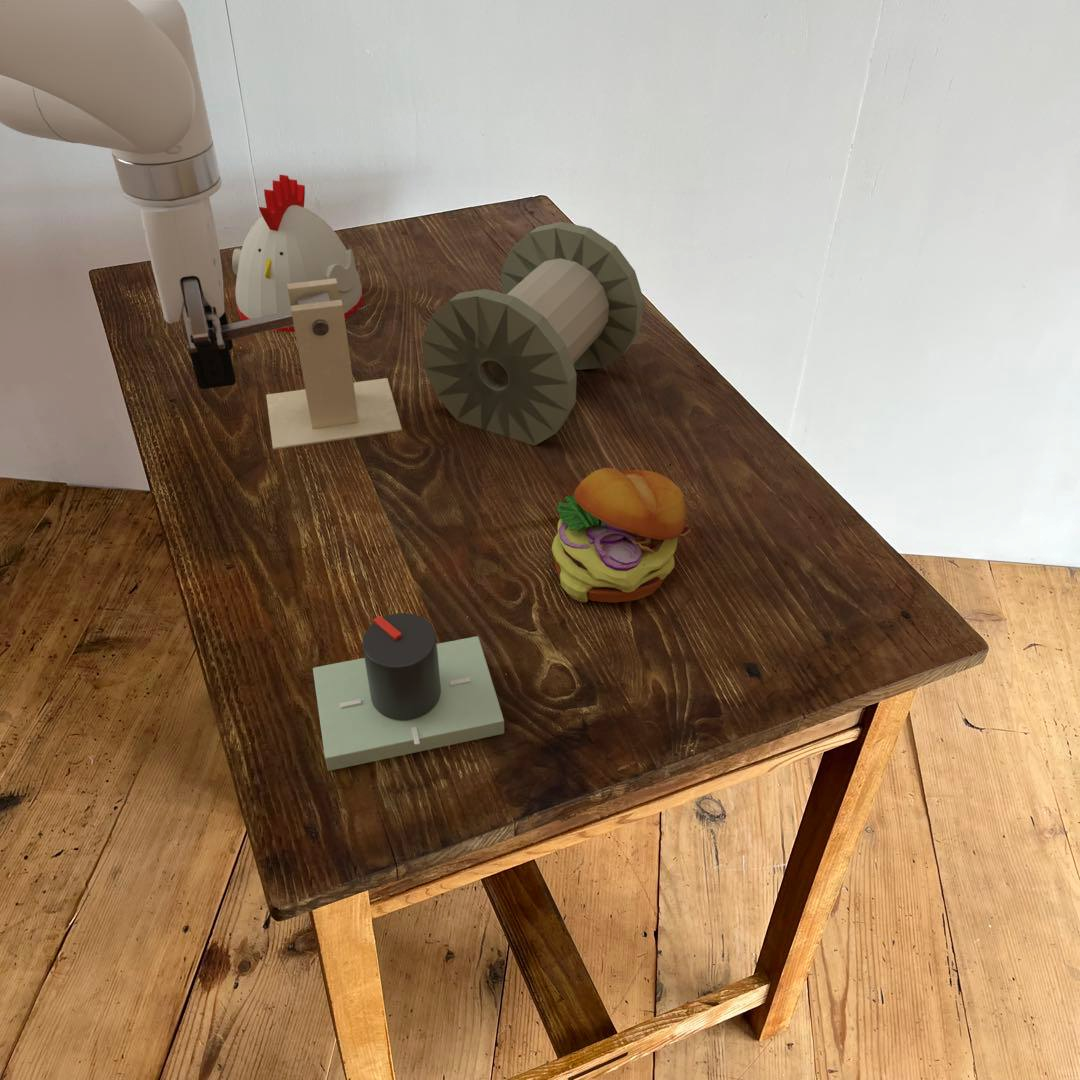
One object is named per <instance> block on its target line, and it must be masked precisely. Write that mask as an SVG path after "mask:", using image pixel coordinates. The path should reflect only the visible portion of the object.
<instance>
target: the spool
mask: <svg viewBox="0 0 1080 1080" xmlns="http://www.w3.org/2000/svg"><path fill="white" fill-rule="evenodd" d="M641 289H642V288H641V286H640V283H639V280H638V277H637V273H636V270H635V269H634V267H633V266H632V265H631V263H630V262H629V261H628V259H627V258H626V257H625V255H624V254H623V253H622V251H621V250H620V249H619V248H618V246H617V245H616V244H615V243H613V242H612V241H610V240H609V239H607V238H605V237H604V236H603V235H602V234H600V233H599V232H597V231H595V230H594V229H592V228H591V227H587V226H583V225H578V224H575V223H570V222H565V221H559V222H554V223H549V224H544V225H540V226H536V227H535V228H534V229H532V230H531V231H530V232H528V234H526V235H525V236H524V237H523V238H522V239H520V240H519V241H518V242H517V243H516V244H514V245H513V246H512V247H511V248H510V250H509V252H508V255H507V257H506V259H505V262H504V264H503V267H502V269H501V292H499V291H495V290H491V289H487V288H482V289H475V290H469V291H463V292H459V293H457V294H456V295H455V296H453V297H452V298H451V299H449V300H448V301H447V302H446V303H445V304H444V305H442V306H441V307H440V308H439V309H438V310H436V311H435V312H434V313H433V314H431V315H430V316H429V320H428V323H427V325H426V327H425V330H424V333H423V336H422V339H421V346H422V357H423V368H424V371H425V373H426V375H427V378H428V380H429V382H430V384H431V387H432V389H433V391H434V394H435V396H436V397H437V399H438V400H439V401H440V402H441V403H442V405H443V406H444V407H445V408H446V409H447V411H448V412H449V413H450V414H451V416H452V417H453V418H454V419H455V421H457V422H459V423H461V424H465V425H469V426H471V427H475V428H477V429H481V430H484V431H487V432H489V433H493V434H497V435H500V436H503V437H505V438H509V439H512V440H514V441H519V442H521V443H524V444H528V445H530V446H537V445H539V444H540V443H542V442H543V441H545V440H547V439H549V438H551V437H553V436H554V435H556V434H557V433H558V432H559V431H560V430H561V428H562V427H563V426H564V425H565V424H566V421H567V419H568V417H569V416H570V414H571V412H572V410H573V409H574V406H575V405H576V403H577V402H576V401H577V372H576V370H577V371H583V370H592V369H602V368H605V367H606V366H608V365H609V364H611V363H612V362H614V361H617V359H619V358H621V357H623V355H625V354H626V353H627V351H628V350H629V349H630V347H631V345H632V344H633V342H634V340H635V339H636V338H637V335H638V334H639V332H640V330H641V328H642V325H643V315H644V314H643V313H644V302H645V299H644V295H643V293H642V290H641Z"/></svg>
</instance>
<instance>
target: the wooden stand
mask: <svg viewBox="0 0 1080 1080" xmlns="http://www.w3.org/2000/svg"><path fill="white" fill-rule="evenodd" d="M287 289H288V294H289V300H290V306H291V312H292V317H293V323H294V329H295V331H294V335H295V339H296V345H297V351H298V357H299V363H300V368H301V373H302V374H301V375H302V379H303V380H302V381H303V385H304V388H303V389H297V390H289V391H283V392H275V393H267V394H266V395H265V396H266V397H265V398H266V404H267V413H268V420H269V421H268V422H269V429H270V439H271V446H272V450H273V451H274V450H275V451H276V450H282V449H289V448H295V447H303V446H310V445H315V444H323V443H328V442H336V441H343V440H349V439H357V438H363V437H370V436H376V435H382V434H389V433H390V434H391V433H397V432H402V431H403V428H402V427H403V426H402V424H401V421H400V417H399V413H398V411H397V407H396V403H395V399H394V396H393V392H392V389H391V385H390V382H389V378H388V377H385V378H384V377H383V378H378V379H370V380H369V379H368V380H362V381H355V382H354V376H353V369H352V361H351V354H350V348H349V340H348V332H347V325H346V318H345V317H344V310H343V304H342V300H340V298H339V291H338V284H337V280H336V278H333V279H325V280H316V281H308V282H299V283H291V284H287ZM323 292H328V293H329V296H330V300H331V301H325V302H317V303H309V304H301V305H298V300H297V298H300V297H305V296H309V295H314V294H318V293H323Z"/></svg>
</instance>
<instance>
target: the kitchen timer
mask: <svg viewBox="0 0 1080 1080" xmlns="http://www.w3.org/2000/svg"><path fill="white" fill-rule="evenodd" d="M278 178H279V179H278V180H274V179H273V180H272V189H267V188H264V189H263V193H264V202H265V206H266V207H264V206H263V207H262V206H259V207H258V210H259V212H260V217H259V218H258V219H257V220H256V221H255V223H253V225H252V226H251V228H250V229H249V231H248V233H247V235H246V237H245V239H244V241H243V244H242V246H241V249H240V248H235V249H234V250H233V252H232V257H231V258H232V259H231V261H232V262H231V264H232V271H233V274H234V275H235V276H236V281H235V304H236V308H237V313H238V317H239V319H240V321H244V320H249V319H253V318H258V317H262V316H267V315H271V314H276V313H280V312H285V311H289V310H291V306H290V300H289V294H288V289H287V284H291V283H299V282H308V281H316V280H325V279H333V278H336V280H337V284H338V291H339V298H340V300H342V304H343V310H344V317H345V319H347V318H350V316H351V315H353V314H354V312H356V311H357V310H358V309H359V307H361V306H364V295H363V294H364V293H363V286H362V281H361V279H360V276H359V273H358V270H357V267H356V262H355V257H354V252H353V250H352V248H349V249H347V248H346V246H345V244H344V243H343V241H342V240H341V239H340V237H339V236H338V234H337V233H336V232H335V230H334V229H333V228H332V227H331V226H330V224H329V223H327V221H325V220H324V219H323V218H322V217H321V216H319V215H318V214H317V213H315V212H313V211H312V210H310V209H308V208H306V207H305V198H306V187H305V184H298V180H297V179H293V178H289V175H286V174H279V176H278ZM274 331H276V332H295V329H294V325H293V326H289V327H284V328H280V329H275V330H274Z"/></svg>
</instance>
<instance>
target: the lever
mask: <svg viewBox="0 0 1080 1080" xmlns="http://www.w3.org/2000/svg"><path fill="white" fill-rule="evenodd" d="M297 300H298V305H301V304H309V303H317V302H325V301H331V300H330V296H329V293H328V292H323V293H318V294H314V295H309V296H305V297H300V298H297ZM207 325H208V328H209V329H212V330H213V331H214V327H213V323H212V321H207ZM293 325H294V323H293V317H292V312H291V310H289V311H285V312H280V313H276V314H271V315H267V316H262V317H258V318H253V319H249V320H239V321H236V322H232V323H228V324H226V325H222V326H221V330H222V335H223V340H224V341H226V340H231V339H232V340H235V339H239V338H243V337H248V336H253V335H257V334H261V333H266V332H269V331H270V332H271V331H275V329H280V328H284V327H289V326H293ZM214 333H215V332H214Z"/></svg>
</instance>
